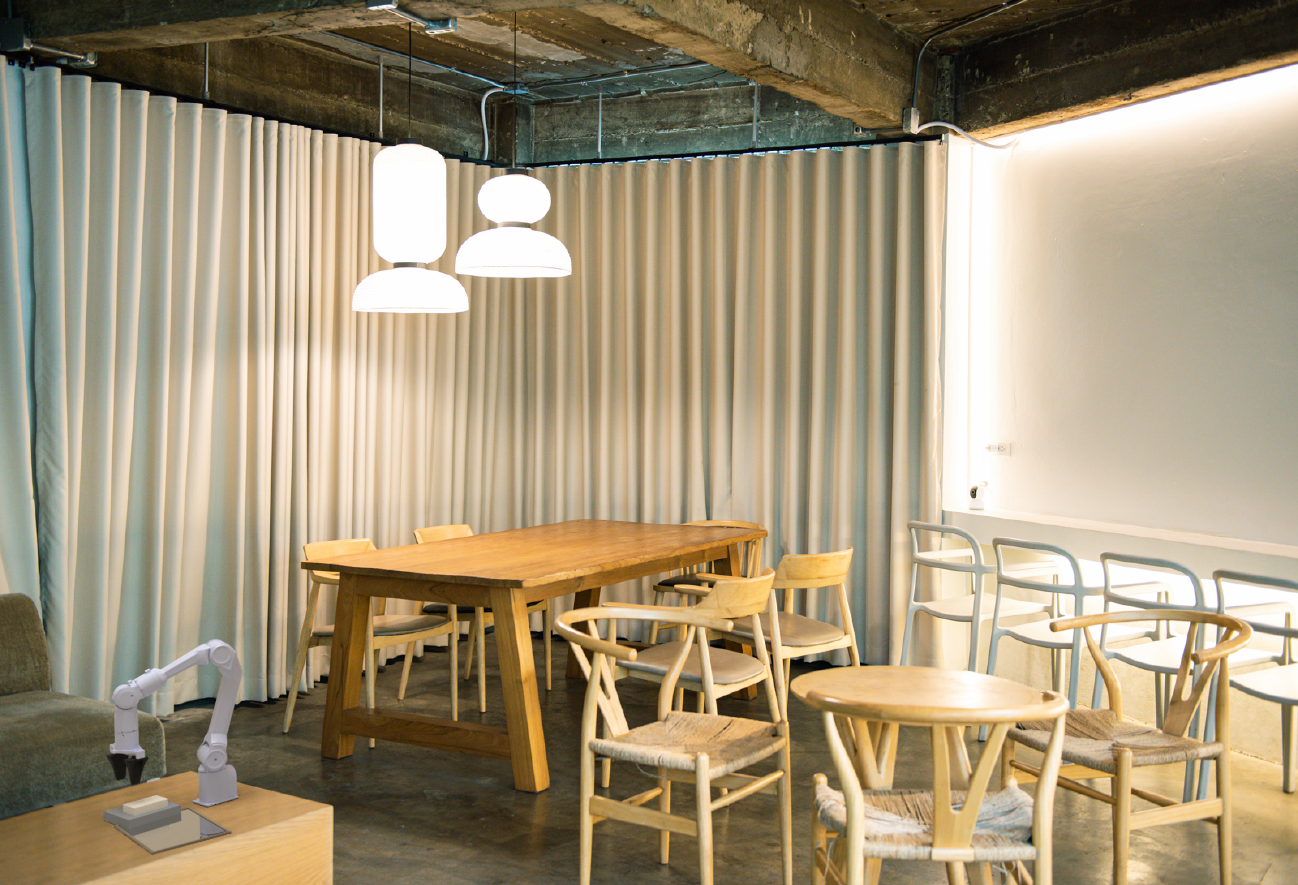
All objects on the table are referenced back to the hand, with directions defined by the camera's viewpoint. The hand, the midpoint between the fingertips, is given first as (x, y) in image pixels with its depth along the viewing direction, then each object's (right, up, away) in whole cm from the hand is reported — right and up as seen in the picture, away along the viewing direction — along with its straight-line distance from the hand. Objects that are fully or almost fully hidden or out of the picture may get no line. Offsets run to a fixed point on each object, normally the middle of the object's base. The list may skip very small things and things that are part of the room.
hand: (127, 781), depth 283 cm
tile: (+5, -7, -2) cm, 9 cm away
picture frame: (+17, -10, -11) cm, 23 cm away
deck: (+4, -9, -1) cm, 10 cm away
